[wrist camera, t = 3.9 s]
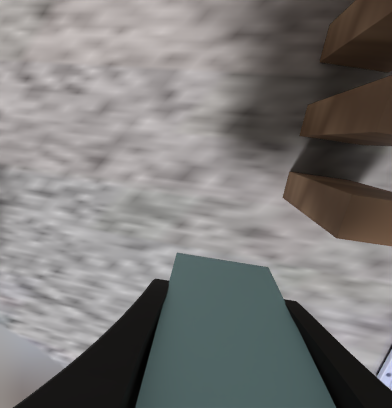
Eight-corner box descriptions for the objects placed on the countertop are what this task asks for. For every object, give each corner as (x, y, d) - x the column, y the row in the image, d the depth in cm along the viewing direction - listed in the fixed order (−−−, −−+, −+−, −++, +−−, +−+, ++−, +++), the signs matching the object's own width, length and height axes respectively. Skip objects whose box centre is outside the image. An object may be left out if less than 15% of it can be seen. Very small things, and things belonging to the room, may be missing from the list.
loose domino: (258, 301, 11) (345, 572, 4) (172, 287, 11) (113, 533, 4) (268, 267, 10) (389, 517, 3) (177, 252, 10) (118, 471, 3)
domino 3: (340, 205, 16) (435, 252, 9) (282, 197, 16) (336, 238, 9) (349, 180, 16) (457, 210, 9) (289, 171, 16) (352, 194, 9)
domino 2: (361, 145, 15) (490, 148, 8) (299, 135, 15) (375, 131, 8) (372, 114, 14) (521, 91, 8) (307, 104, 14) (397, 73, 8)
